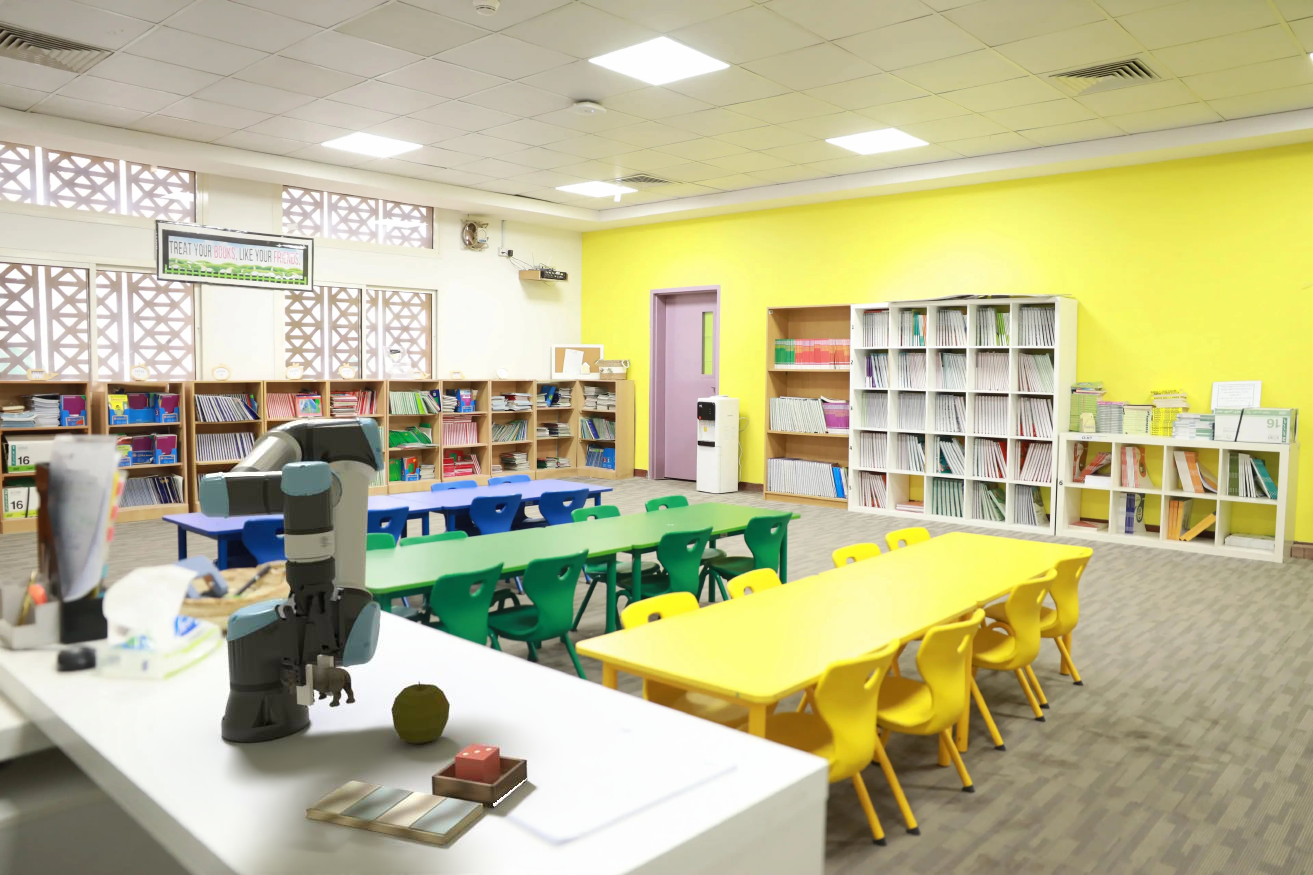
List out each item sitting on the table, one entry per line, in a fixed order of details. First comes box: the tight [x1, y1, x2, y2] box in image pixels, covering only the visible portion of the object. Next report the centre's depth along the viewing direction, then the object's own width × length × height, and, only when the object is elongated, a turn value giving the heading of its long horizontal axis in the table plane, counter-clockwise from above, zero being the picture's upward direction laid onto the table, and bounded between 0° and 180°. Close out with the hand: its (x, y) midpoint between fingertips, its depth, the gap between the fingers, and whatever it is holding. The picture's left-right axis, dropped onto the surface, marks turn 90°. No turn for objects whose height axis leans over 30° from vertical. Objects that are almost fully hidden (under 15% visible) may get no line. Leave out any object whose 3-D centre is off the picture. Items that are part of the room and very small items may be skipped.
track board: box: [305, 780, 484, 846], centre depth 131 cm, size 24×10×1 cm, turn 69°
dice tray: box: [431, 755, 528, 809], centre depth 139 cm, size 11×10×3 cm
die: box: [454, 743, 501, 784], centre depth 139 cm, size 5×5×5 cm
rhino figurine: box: [281, 664, 356, 708], centre depth 144 cm, size 4×14×6 cm, turn 70°
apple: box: [391, 681, 451, 745], centre depth 158 cm, size 10×10×11 cm
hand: (316, 698), depth 145 cm, fingers closed on rhino figurine, 4 cm apart
